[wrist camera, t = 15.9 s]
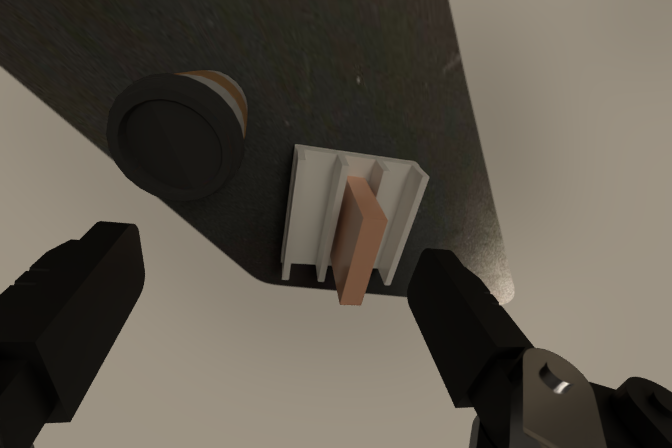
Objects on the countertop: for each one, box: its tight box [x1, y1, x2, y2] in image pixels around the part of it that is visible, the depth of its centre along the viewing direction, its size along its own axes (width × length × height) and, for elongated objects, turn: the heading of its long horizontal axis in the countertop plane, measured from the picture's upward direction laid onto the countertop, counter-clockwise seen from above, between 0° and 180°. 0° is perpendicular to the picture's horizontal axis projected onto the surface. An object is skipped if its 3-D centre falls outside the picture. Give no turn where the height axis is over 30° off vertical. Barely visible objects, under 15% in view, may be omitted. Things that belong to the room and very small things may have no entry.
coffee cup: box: [106, 70, 248, 201], centre depth 26 cm, size 8×8×15 cm
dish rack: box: [281, 144, 429, 285], centre depth 39 cm, size 16×15×5 cm
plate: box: [330, 176, 388, 305], centre depth 36 cm, size 11×2×10 cm, turn 169°
